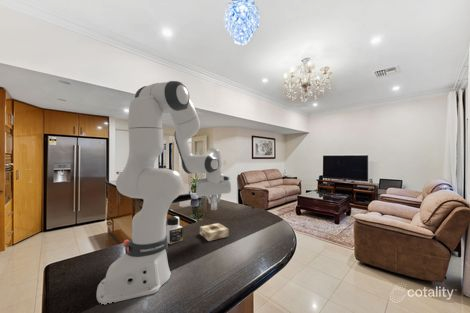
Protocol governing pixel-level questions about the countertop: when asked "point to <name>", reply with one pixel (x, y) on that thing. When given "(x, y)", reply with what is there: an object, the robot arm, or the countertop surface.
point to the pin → (214, 202)
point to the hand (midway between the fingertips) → (214, 202)
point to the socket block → (214, 231)
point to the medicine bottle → (174, 230)
